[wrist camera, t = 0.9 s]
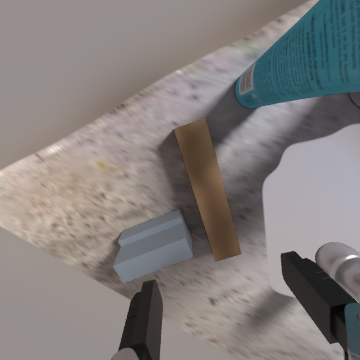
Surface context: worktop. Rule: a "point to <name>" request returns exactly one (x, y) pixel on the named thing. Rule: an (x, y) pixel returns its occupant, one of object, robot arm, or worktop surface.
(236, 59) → the worktop surface
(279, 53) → the tube
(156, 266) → the ridge
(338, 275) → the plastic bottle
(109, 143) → the worktop surface
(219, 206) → the walnut bar
